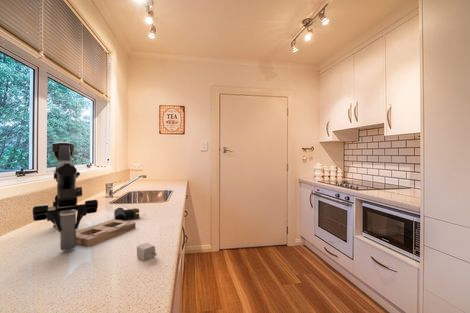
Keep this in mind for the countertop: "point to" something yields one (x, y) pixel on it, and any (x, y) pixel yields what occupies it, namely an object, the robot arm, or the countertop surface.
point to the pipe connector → (126, 214)
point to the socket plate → (102, 231)
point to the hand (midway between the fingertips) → (68, 230)
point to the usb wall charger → (146, 251)
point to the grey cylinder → (67, 229)
